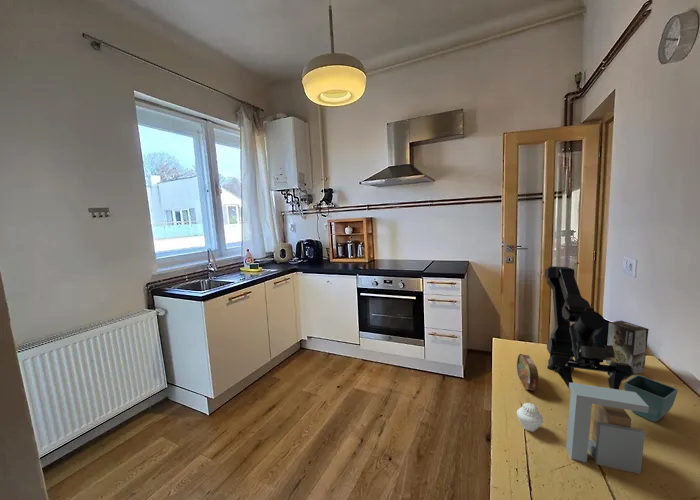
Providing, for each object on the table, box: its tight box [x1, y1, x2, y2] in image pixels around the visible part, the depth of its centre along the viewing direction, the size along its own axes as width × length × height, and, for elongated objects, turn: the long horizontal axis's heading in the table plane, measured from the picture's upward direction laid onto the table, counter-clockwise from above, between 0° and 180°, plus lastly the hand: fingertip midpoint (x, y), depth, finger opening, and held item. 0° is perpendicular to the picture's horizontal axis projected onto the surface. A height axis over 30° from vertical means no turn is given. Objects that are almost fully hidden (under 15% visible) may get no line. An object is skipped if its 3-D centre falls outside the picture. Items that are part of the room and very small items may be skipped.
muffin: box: [516, 402, 544, 433], centre depth 83 cm, size 6×6×7 cm
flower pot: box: [623, 374, 679, 423], centre depth 87 cm, size 9×9×9 cm
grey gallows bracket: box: [565, 382, 649, 475], centre depth 72 cm, size 6×13×16 cm, turn 69°
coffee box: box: [605, 320, 650, 375], centre depth 112 cm, size 9×6×16 cm
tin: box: [516, 353, 539, 392], centre depth 104 cm, size 15×3×8 cm, turn 164°
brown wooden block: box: [591, 404, 632, 442], centre depth 74 cm, size 8×4×12 cm, turn 159°
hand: (594, 398), depth 83 cm, fingers open, 9 cm apart
